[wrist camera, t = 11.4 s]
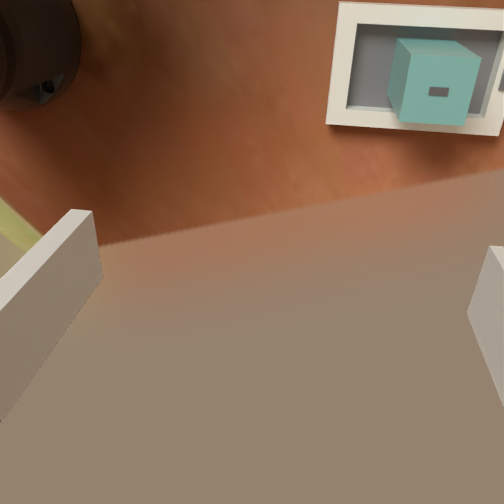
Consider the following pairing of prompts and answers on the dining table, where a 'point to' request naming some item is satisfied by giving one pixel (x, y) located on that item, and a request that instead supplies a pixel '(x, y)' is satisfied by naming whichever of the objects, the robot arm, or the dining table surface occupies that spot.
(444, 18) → the white shallow tray
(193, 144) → the dining table surface
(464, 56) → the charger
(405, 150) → the dining table surface
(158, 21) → the dining table surface
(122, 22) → the dining table surface
